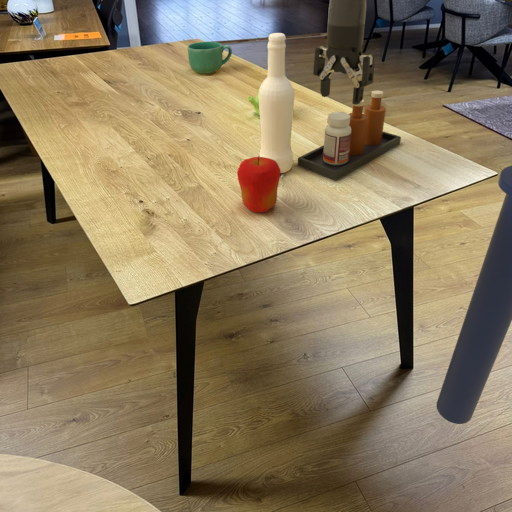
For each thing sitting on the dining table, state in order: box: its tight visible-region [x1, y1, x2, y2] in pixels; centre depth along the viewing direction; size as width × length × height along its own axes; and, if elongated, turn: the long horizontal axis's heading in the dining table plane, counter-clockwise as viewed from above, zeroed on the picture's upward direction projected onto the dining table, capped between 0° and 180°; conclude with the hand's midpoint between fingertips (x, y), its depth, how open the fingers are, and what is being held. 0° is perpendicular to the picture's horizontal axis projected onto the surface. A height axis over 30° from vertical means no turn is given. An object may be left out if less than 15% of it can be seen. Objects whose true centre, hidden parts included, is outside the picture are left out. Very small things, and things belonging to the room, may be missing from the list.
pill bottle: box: [323, 111, 351, 165], centre depth 113 cm, size 6×6×11 cm
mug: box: [187, 41, 233, 75], centre depth 180 cm, size 17×13×10 cm
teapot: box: [247, 87, 260, 116], centre depth 142 cm, size 11×12×8 cm
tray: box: [297, 131, 402, 181], centre depth 120 cm, size 28×12×2 cm, turn 135°
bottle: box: [257, 32, 295, 175], centre depth 107 cm, size 8×8×30 cm
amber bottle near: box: [348, 99, 368, 155], centre depth 117 cm, size 5×5×13 cm
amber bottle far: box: [363, 89, 387, 146], centre depth 121 cm, size 5×5×13 cm
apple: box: [236, 155, 281, 213], centre depth 97 cm, size 9×8×12 cm
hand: (340, 99), depth 107 cm, fingers open, 8 cm apart
